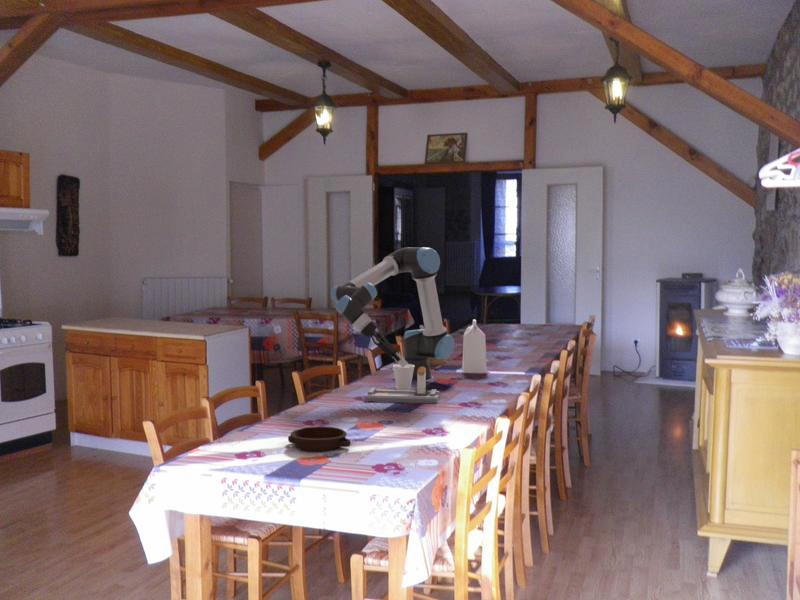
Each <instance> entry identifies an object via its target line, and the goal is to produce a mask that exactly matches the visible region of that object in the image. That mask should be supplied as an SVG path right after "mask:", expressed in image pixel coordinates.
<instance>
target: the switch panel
mask: <svg viewBox="0 0 800 600" xmlns="http://www.w3.org/2000/svg"><path fill="white" fill-rule="evenodd" d="M416 391H417V389H416V390H413V389H412V390H411V389H410V390H397V389H377V387H370V388H369V390H368V391H367V394H366V393H365V394H364V402H368V401H376V402H375V403H377V402H379V403H408V404H409V403H411V404H413V403H415V404H437V403H438V401H439V399H438V398H440V390H437V389H436V388H435V389H433V388H432V389H431V390H427V391H428V395H427V396H414V394H415V392H416Z"/></svg>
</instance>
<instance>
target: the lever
mask: <svg viewBox="0 0 800 600" xmlns="http://www.w3.org/2000/svg"><path fill="white" fill-rule="evenodd" d="M426 379H427V378H426V369H425V367H423V366H422V367H419V369H418V370H417V379H416V380H417V382H416V388H417V389H416V390H417V391H416V392H415V394H414V396H427V395H428V391H429V390H426V389H427V388H426V387H427V386H426V385H427V384H426Z"/></svg>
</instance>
